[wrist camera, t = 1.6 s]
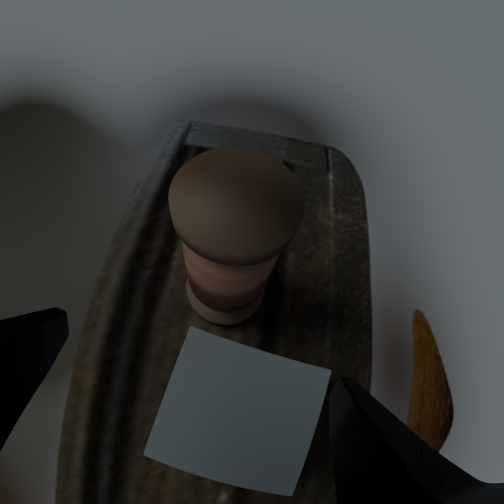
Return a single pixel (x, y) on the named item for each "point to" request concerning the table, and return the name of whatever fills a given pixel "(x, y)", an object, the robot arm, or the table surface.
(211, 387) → the grey bridge block
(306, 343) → the table surface
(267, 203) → the brown flanged cylinder
